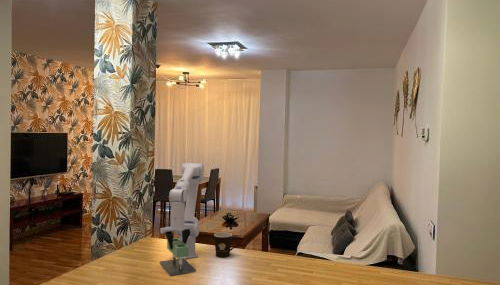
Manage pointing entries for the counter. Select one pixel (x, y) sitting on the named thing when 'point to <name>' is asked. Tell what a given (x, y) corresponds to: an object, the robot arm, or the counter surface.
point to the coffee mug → (223, 244)
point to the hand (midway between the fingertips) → (177, 248)
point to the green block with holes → (178, 248)
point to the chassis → (177, 266)
